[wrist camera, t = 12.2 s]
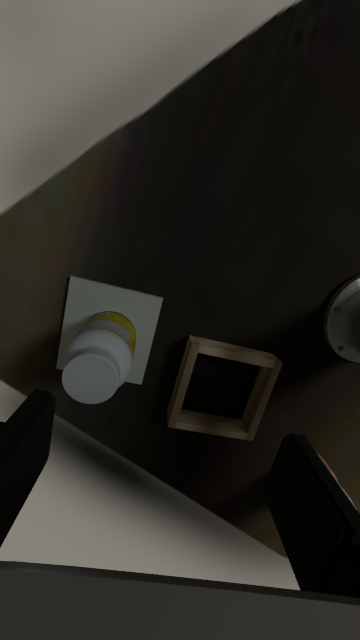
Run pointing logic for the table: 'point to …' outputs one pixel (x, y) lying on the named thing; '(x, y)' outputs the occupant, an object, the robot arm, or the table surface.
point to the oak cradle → (213, 422)
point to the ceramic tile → (103, 297)
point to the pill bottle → (99, 357)
